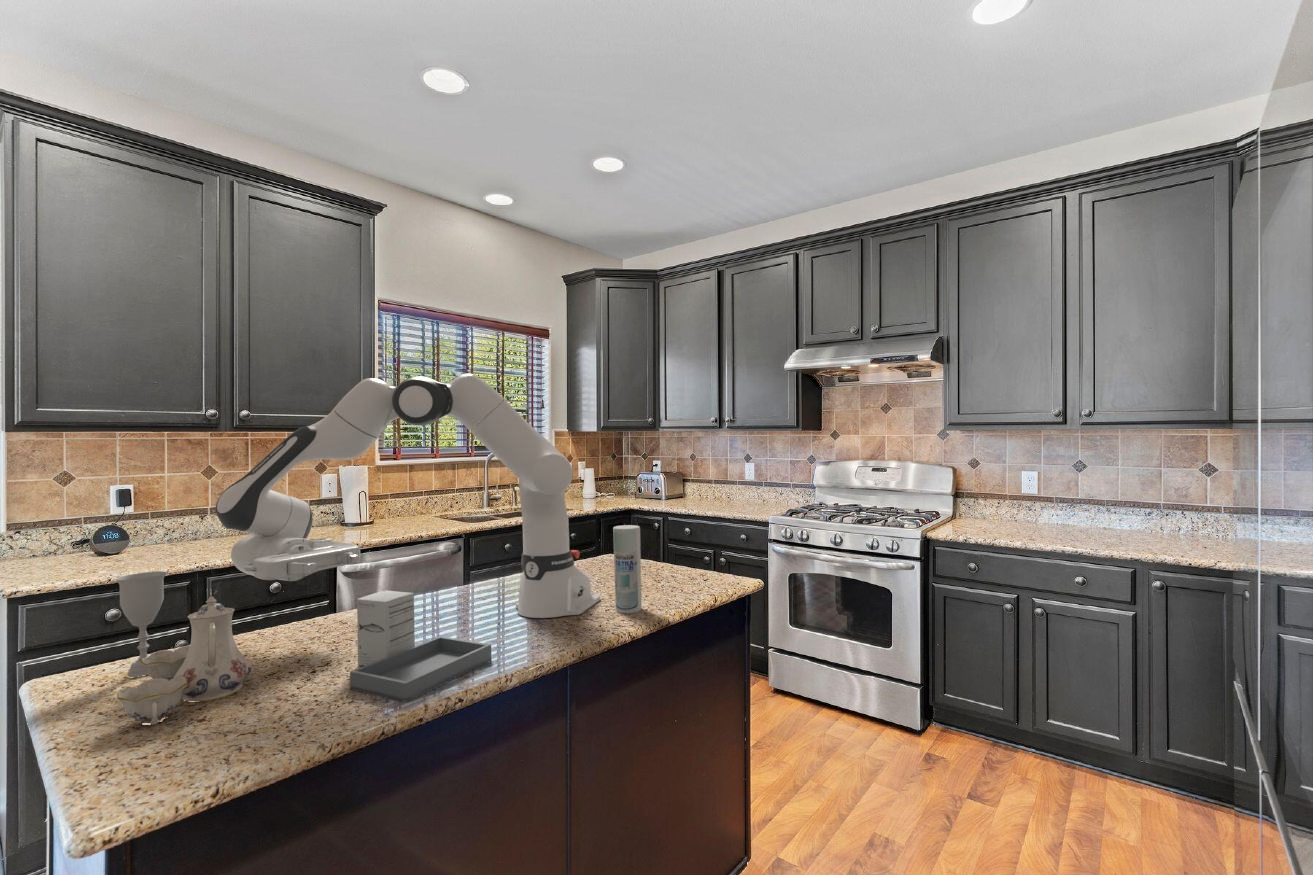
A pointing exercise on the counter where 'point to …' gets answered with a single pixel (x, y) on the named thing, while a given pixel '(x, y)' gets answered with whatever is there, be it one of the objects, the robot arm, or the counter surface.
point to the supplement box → (384, 625)
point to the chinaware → (190, 668)
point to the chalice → (141, 608)
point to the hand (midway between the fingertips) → (334, 563)
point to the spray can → (627, 568)
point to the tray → (419, 668)
